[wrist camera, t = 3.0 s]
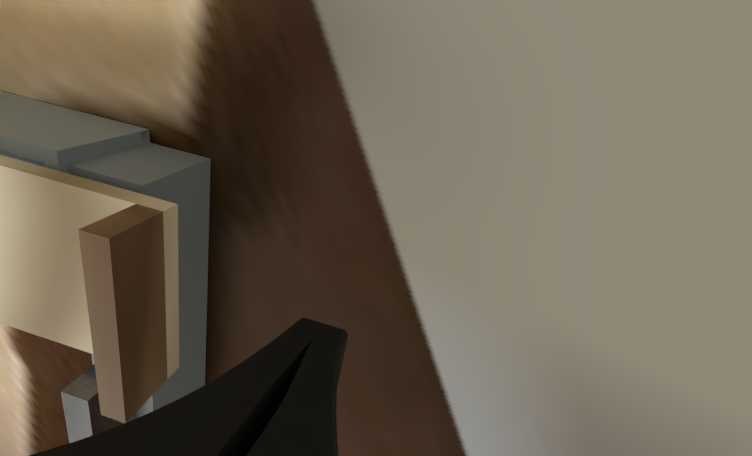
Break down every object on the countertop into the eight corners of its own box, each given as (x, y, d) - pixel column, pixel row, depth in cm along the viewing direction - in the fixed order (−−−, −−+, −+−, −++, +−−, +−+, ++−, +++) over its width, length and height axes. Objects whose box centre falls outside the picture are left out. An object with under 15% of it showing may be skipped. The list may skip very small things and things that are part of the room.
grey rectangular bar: (115, 447, 17) (77, 488, 16) (105, 355, 15) (60, 391, 13) (136, 455, 17) (101, 497, 15) (129, 363, 15) (87, 401, 13)
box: (22, 339, 22) (-63, 393, 18) (-33, 82, 16) (-168, 89, 13) (204, 401, 21) (150, 471, 17) (211, 145, 15) (133, 172, 12)
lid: (-22, 300, 15) (-105, 341, 13) (-64, 136, 12) (-177, 154, 10) (179, 366, 14) (125, 423, 12) (177, 203, 12) (109, 239, 9)
